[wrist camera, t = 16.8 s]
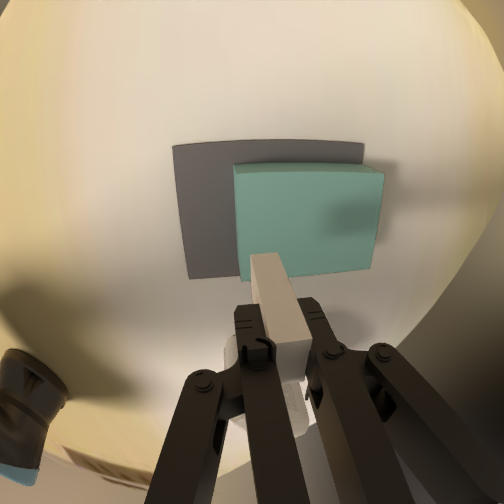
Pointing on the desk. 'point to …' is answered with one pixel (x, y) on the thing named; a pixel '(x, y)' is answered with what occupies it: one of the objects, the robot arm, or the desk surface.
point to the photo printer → (290, 391)
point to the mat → (232, 192)
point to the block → (307, 215)
